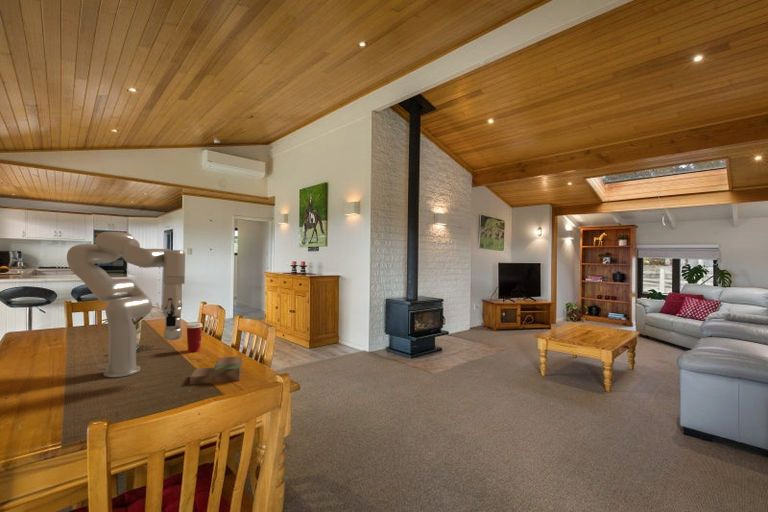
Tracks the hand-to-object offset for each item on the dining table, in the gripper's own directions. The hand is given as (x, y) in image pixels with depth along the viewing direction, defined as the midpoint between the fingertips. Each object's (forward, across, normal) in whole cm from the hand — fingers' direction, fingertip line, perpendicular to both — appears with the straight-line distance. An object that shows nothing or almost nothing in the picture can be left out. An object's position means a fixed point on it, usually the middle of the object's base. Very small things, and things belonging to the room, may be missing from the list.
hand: (173, 324), depth 147 cm
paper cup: (+23, -40, +1) cm, 46 cm away
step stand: (+22, +4, +18) cm, 28 cm away
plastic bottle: (+7, 0, 0) cm, 7 cm away
